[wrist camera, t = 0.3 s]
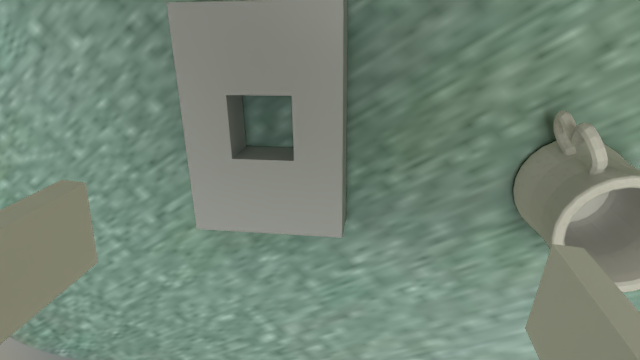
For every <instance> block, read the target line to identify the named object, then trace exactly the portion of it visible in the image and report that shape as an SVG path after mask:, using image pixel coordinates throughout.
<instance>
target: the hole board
mask: <svg viewBox="0 0 640 360" xmlns="http://www.w3.org/2000/svg"><path fill="white" fill-rule="evenodd" d="M166 4H167V11H168V19H169V26H170V33H171V41H172V48H173V56H174V63H175V71H176V78H177V85H178V93H179V100H180V108H181V115H182V122H183V130H184V137H185V145H186V152H187V159H188V167H189V174H190V182H191V189H192V197H193V204H194V211H195V219H196V226H197V229H207V230H223V231H240V232H257V233H273V234H290V235H307V236H323V237H340V238H342V235H343V230H344V226H345V221H346V162H347V54H348V1H347V0H251V1H209V2H167V3H166ZM242 95H265V96H292V121H293V147H294V148H285V147H251V146H246V138H245V125H244V113H243V101H242Z"/></svg>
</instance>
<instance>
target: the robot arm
mask: <svg viewBox="0 0 640 360" xmlns="http://www.w3.org/2000/svg"><path fill="white" fill-rule="evenodd" d="M97 263H98V260H97V253H96V247H95V240H94V234H93V227H92V221H91V214H90V208H89V201H88V195H87V188H86V183H83V182H75V181H68V180H60V181H58V182H56V183H54V184H52V185H50V186H48V187H46V188H44V189H42V190H40V191H38V192H36V193H34V194H32V195H30V196H28V197H26V198H24V199H22V200H20V201H18V202H16V203H14V204H12V205H10V206H8V207H6V208H4V209H1V210H0V344H1V343H3V342H4V341H5V340H6V339H7V338H8V337H10V336H11V335H12V334H13V333H14V332H16V331H17V330H18V329H19V328H20V327H22V326H23V325H24V324H25V323H26V322H28V321H29V320H30V319H31V318H32V317H33V316H35V315H36V314H37V313H38V312H39V311H41V310H42V309H43V308H44V307H45V306H47V305H48V304H49V303H50V302H51V301H52V300H54V299H55V298H56V297H57V296H58V295H60V294H61V293H62V292H63V291H64V290H66V289H67V288H68V287H69V286H70V285H72V284H73V283H74V282H75V281H76V280H77V279H79V278H80V277H81V276H82V275H83V274H85V273H86V272H87V271H88V270H89V269H91V268H92V267H93V266H94V265H95V264H97ZM526 331H527V333H528V335H529V337H530V340H531V342H532V344H533V346H534V348H535V351H536V353H537V355H538V357H539V360H640V312H639V311H638V310H637V309H636V308H635V307H634V305H633V304H632V303H631V302H630V301H629V300H628V299H627V297H626V296H625V295H624V294H623V293H622V292H621V290H620V289H619V288H618V287H617V286H616V285H615V284H614V282H613V281H612V280H611V279H610V278H609V277H608V275H607V274H606V273H605V272H604V271H603V270H602V268H601V267H600V266H599V265H598V264H597V263H596V262H595V260H594V259H593V258H592V257H591V256H590V255H589V253H588V252H587V251H586V250H585V249H584V248H580V247H572V246H565V245H557V244H552V247H551V250H550V253H549V256H548V259H547V262H546V266H545V269H544V272H543V275H542V278H541V281H540V284H539V287H538V290H537V293H536V297H535V300H534V303H533V306H532V309H531V312H530V315H529V318H528V321H527V324H526Z"/></svg>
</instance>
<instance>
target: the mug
mask: <svg viewBox="0 0 640 360" xmlns="http://www.w3.org/2000/svg"><path fill="white" fill-rule="evenodd" d="M553 126H554V134H555V137H556V140H557V141H555V142H553V143H550V144H548V145H546V146H543V147H542V148H540V149H539V150H538V151H536V152H535V153H533V154H532V155H531V156H530V157H529V158H528V159H527V160H526V161H525V163H524V164H523V165H522V166H521V168H520V170H519V172H518V174H517V176H516V178H515V183H514V189H513V192H514V201H515V205H516V207H517V209H518V211H519V213H520V215H521V216H522V217H523V219H524V220H525V221H526V222H527V223H528V224H529V225H530V226H531V227H532V228H533V229H534V230H535V231H536V232H537V233H539V234H540V235H541V237H542V238H543V239H544V241H545V242H546V243H547V245H548V247H549V249H550V250H551V247H552V244H557V245H565V246H572V247H580V248H584V249H585V250H586V251H587V252H588V253H589V255H590V256H591V257H592V258H593V259H594V260H595V262H596V263H597V264H598V265H599V266H600V267H601V268H602V270H603V271H604V272H605V273H606V274H607V275H608V277H609V278H610V279H611V280H612V281H613V282H614V284H615V285H616V286H617V287H618V288H619V289H620V290H621V292H628V291H635V290H639V289H640V171H639V170H638V169H636V168H634V167H633V166H631V165H630V164H629V163H628V162H627V161H626V160H625V159H624V158H623V157H621V156H620V155H619V154H618V153H617V152H616V151H614V150H613V149H611V148H610V147H608V146H606V145H605V144H603V142H602V140H601V137H600V136H599V134H598V132H597V131H596V129H595V128H594V127H593V126H592V125H591V124H589V123H581V124H579V125H578V126H577V125H576V123H575V121H574V119H573V117H572V116H571V114H570V113H568V112H567V111H560V112H559V113H557V114H556V115H555V119H554V125H553Z"/></svg>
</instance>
